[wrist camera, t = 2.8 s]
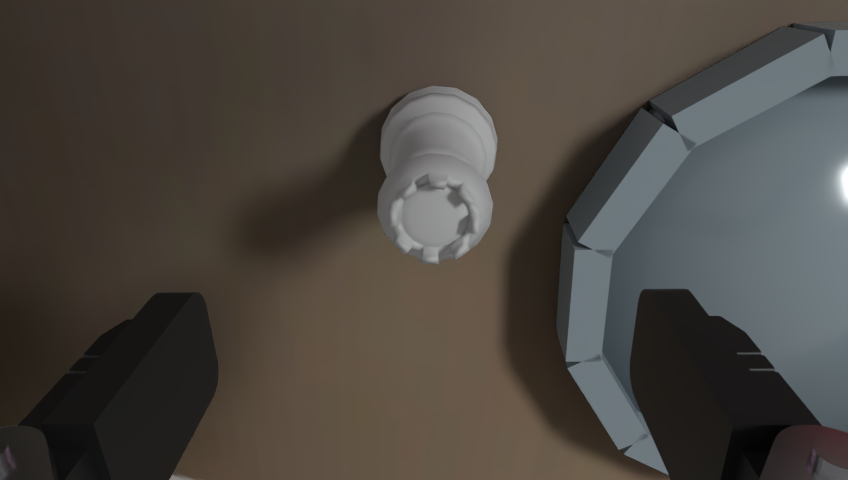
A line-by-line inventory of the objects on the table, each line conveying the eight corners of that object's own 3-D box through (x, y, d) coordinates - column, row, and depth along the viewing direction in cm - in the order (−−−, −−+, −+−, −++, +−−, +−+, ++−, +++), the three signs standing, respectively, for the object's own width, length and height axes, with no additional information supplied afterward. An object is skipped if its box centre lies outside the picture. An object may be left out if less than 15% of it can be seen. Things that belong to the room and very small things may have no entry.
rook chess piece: (398, 67, 22) (373, 119, 15) (513, 102, 23) (542, 169, 15) (368, 178, 24) (334, 271, 17) (475, 208, 24) (486, 312, 17)
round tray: (1172, 12, 20) (1262, 18, 18) (968, 458, 29) (1012, 500, 27) (576, 29, 21) (592, 37, 19) (546, 456, 30) (554, 497, 28)
